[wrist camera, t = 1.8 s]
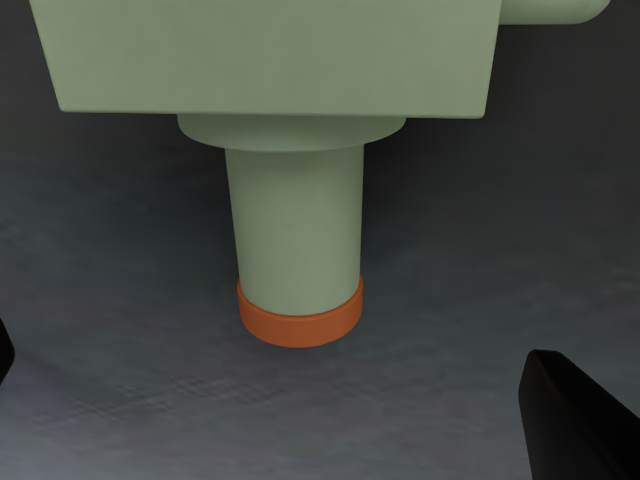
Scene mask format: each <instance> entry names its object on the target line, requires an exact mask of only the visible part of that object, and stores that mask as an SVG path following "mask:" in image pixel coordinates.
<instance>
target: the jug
mask: <svg viewBox="0 0 640 480" xmlns="http://www.w3.org/2000/svg"><path fill="white" fill-rule="evenodd" d="M29 1H30V5H31V8H32V12H33V16H34V19H35V23H36V26H37V30H38V33H39V37H40V40H41V44H42V47H43V51H44V55H45V58H46V62H47V65H48V69H49V72H50V76H51V79H52V83H53V87H54V90H55V94H56V97H57V101H58V104H59V108H60V109H61V111H64V112H95V113H157V114H177V118H178V124H179V127H180V129H181V131H182V132H183V133H184V134H185V135H186V136H188V137H190V138H191V139H194V140H196V141H198V142H201V143H204V144H208V145H211V146H216V147H220V148H225V156H226V165H227V173H228V182H229V190H230V199H231V208H232V216H233V225H234V233H235V242H236V251H237V259H238V268H239V276H240V278H239V280H238V284H237V292H238V301H239V309H240V317H241V320H242V322H243V324H244V326H245V327H246V328H247V329H248V331H249V332H251V333H252V334H253V335H254V336H256V337H257V338H259V339H261V340H263V341H265V342H267V343H271V344H274V345H278V346H282V347H291V348H304V347H313V346H319V345H323V344H326V343H329V342H332V341H334V340H336V339H338V338H340V337H342V336H344V335H345V334H347V333H348V332H349V331H350V330H351V329H352V328H353V327H354V326H355V325H356V323H357V322H358V320H359V319H360V316H361V313H362V299H363V279H362V276H361V274H360V249H361V219H362V189H363V159H364V144H365V143H369V142H373V141H376V140H379V139H382V138H384V137H387V136H389V135H391V134H393V133H395V132H396V131H398V130H399V129H400V128H401V127H402V126H403V125H404V123H405V121H406V118H467V119H479V118H482V117H483V115H484V113H485V107H486V101H487V95H488V88H489V82H490V76H491V69H492V63H493V57H494V50H495V44H496V37H497V31H498V25H499V24H578V23H582V22H585V21H588V20H590V19H592V18H593V17H595V16H597V15H598V14H599V13H600V12H602V11H603V10H604V9H605V7H606V6H607V5H608V4H609V2H610V0H29Z"/></svg>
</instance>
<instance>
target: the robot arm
mask: <svg viewBox="0 0 640 480" xmlns="http://www.w3.org/2000/svg"><path fill="white" fill-rule="evenodd" d="M14 358H15V350H14V347H13V344H12V342H11V340H10V337H9V335H8V333H7V331H6V328H5V326H4V324H3V321H2V320H1V318H0V385H1V383H2V382H3V380H4V378H5V376H6V375H7V373H8V371H9V369H10V367H11V366H12V364H13V361H14ZM518 398H519V406H520V411H521V417H522V422H523V428H524V433H525V439H526V444H527V450H528V456H529V461H530V467H531V472H532V478H533V480H640V418H638V417H637V416H636V415H635V414H634V413H632V412H631V411H630V410H629V409H628V408H626V407H625V406H624V405H623V404H622V403H620V402H619V401H618V400H617V399H616V398H614V397H613V396H612V395H611V394H610V393H608V392H607V391H606V390H605V389H604V388H602V387H601V386H600V385H599V384H598V383H596V382H595V381H594V380H593V379H592V378H590V377H589V376H588V375H587V374H586V373H584V372H583V371H582V370H581V369H580V368H578V367H577V366H576V365H575V364H574V363H572V362H571V361H570V360H569V359H568V358H566V357H565V356H564V355H563V354H561V353H560V352H558V351H551V350H536V349H535V350H532V351H530V352H529V354H528V356H527V359H526V363H525V366H524V370H523V374H522V377H521V381H520V385H519V391H518Z"/></svg>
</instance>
